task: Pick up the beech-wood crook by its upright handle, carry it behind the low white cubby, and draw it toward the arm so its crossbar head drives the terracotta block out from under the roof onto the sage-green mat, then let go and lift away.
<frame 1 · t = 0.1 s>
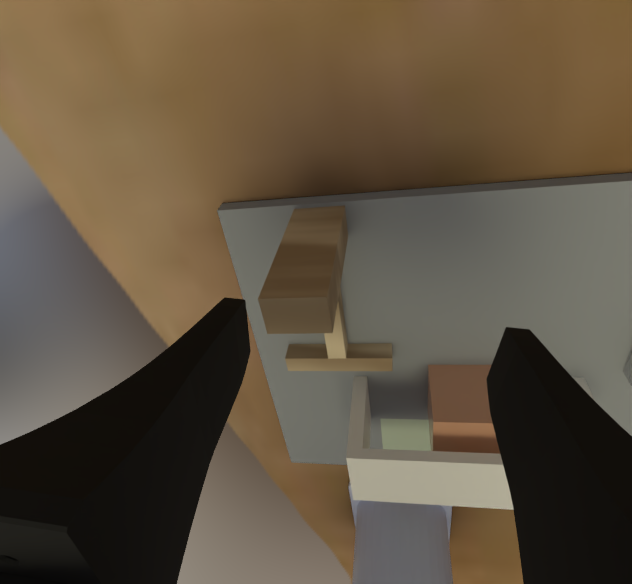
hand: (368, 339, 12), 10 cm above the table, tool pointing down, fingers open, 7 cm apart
rake: (321, 222, 21), point 1 cm above the table, touching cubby
block: (462, 388, 26), point 1 cm above the table, touching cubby
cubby: (471, 354, 25), on the table
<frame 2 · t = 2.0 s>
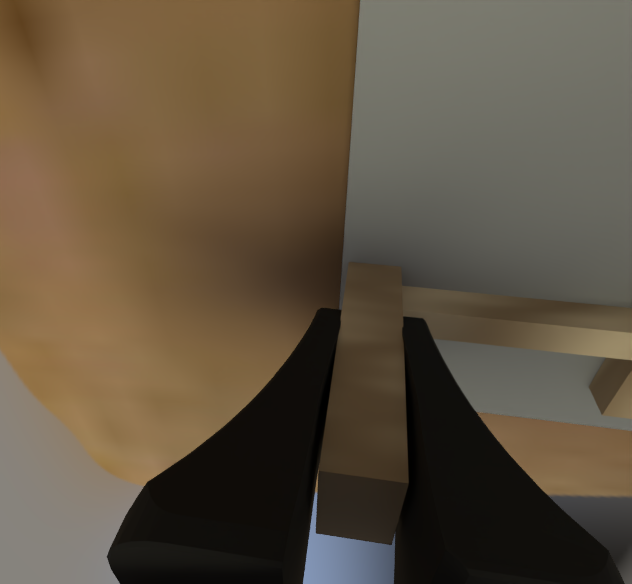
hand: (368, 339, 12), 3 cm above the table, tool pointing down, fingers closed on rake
rake: (371, 295, 14), point 1 cm above the table, touching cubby, gripper
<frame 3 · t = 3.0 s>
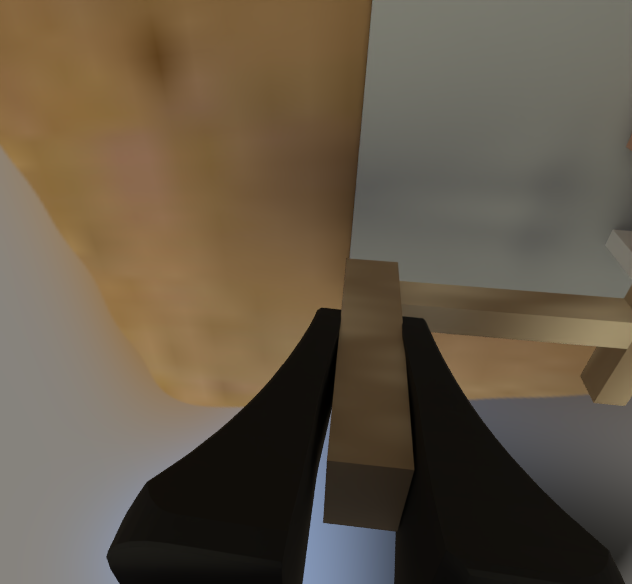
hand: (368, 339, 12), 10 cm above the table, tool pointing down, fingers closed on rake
rake: (368, 291, 14), point 8 cm above the table, touching gripper
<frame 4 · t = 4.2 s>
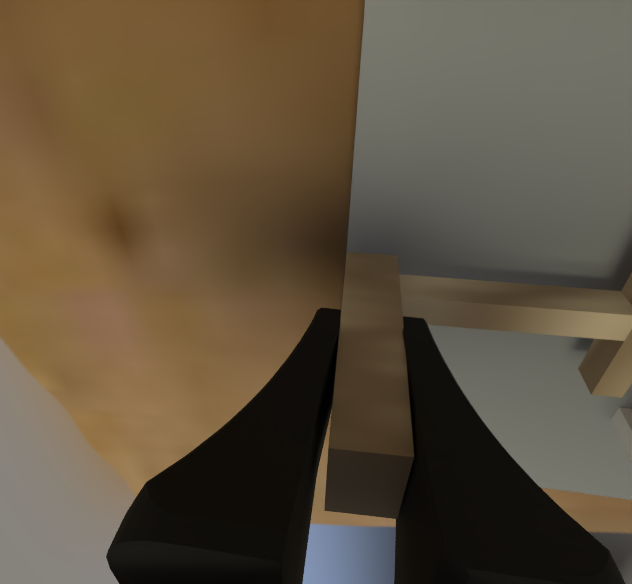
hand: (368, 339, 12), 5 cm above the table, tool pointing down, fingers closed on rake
rake: (368, 284, 14), point 2 cm above the table, touching gripper
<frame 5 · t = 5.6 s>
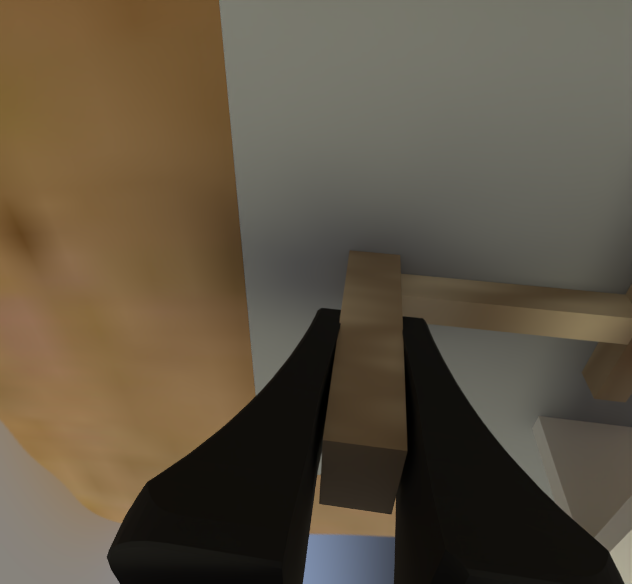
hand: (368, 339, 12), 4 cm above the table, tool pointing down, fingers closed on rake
rake: (371, 283, 15), point 1 cm above the table, touching block, gripper
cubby: (561, 275, 14), on the table
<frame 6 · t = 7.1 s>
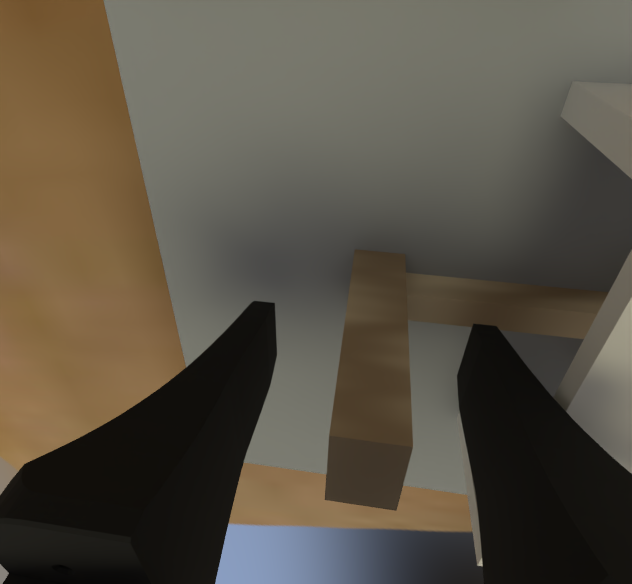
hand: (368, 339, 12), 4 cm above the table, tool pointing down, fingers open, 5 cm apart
rake: (375, 282, 15), point 1 cm above the table, touching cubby
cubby: (467, 266, 15), on the table
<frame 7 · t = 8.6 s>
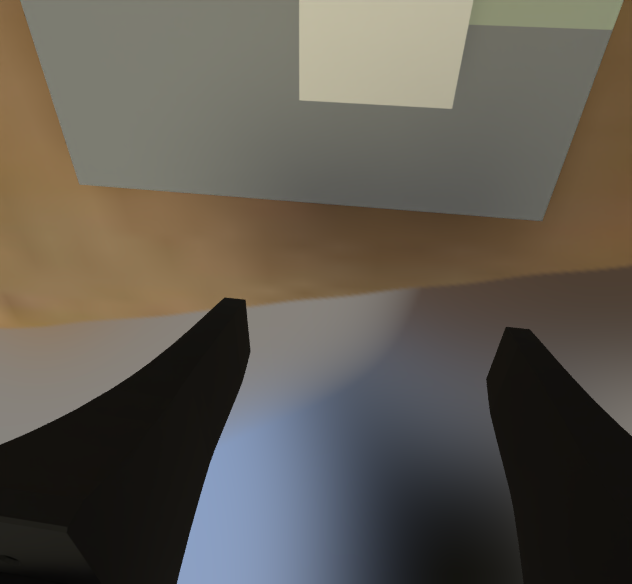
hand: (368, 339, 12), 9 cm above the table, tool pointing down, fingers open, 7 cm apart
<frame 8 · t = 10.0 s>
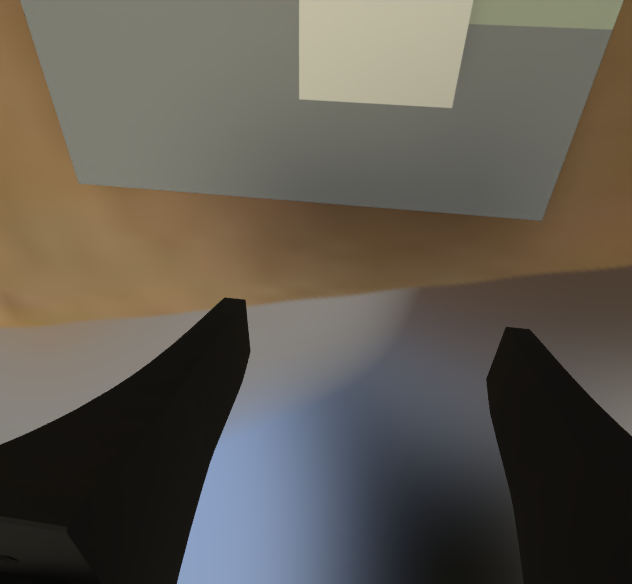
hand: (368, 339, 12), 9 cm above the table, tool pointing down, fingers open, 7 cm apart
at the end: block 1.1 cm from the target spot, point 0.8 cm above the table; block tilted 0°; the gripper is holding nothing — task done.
